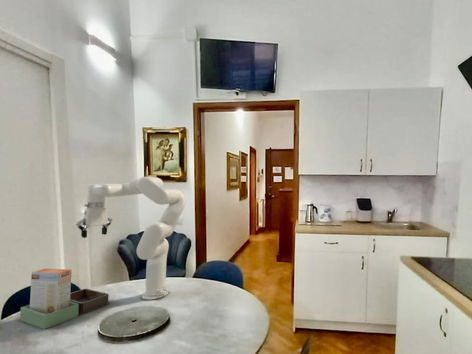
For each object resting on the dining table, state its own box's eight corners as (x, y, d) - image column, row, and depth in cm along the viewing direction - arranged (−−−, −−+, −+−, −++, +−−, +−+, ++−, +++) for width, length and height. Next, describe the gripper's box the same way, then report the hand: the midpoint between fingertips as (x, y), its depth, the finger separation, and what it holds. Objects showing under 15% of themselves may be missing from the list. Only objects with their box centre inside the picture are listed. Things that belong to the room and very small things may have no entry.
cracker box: (70, 314, 116) (72, 268, 117) (55, 321, 110) (58, 273, 111) (43, 312, 118) (46, 267, 118) (28, 319, 112) (30, 271, 112)
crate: (109, 303, 128) (109, 293, 128) (81, 314, 117) (82, 303, 117) (85, 297, 135) (85, 288, 135) (57, 307, 124) (58, 297, 124)
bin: (78, 316, 116) (78, 303, 116) (44, 329, 105) (45, 315, 105) (53, 308, 123) (54, 296, 123) (19, 320, 112) (20, 307, 112)
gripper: (81, 206, 132) (80, 239, 131) (116, 204, 148) (115, 233, 148) (73, 206, 135) (71, 238, 134) (108, 204, 151) (107, 232, 150)
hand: (94, 235), depth 141 cm, fingers open, 9 cm apart
